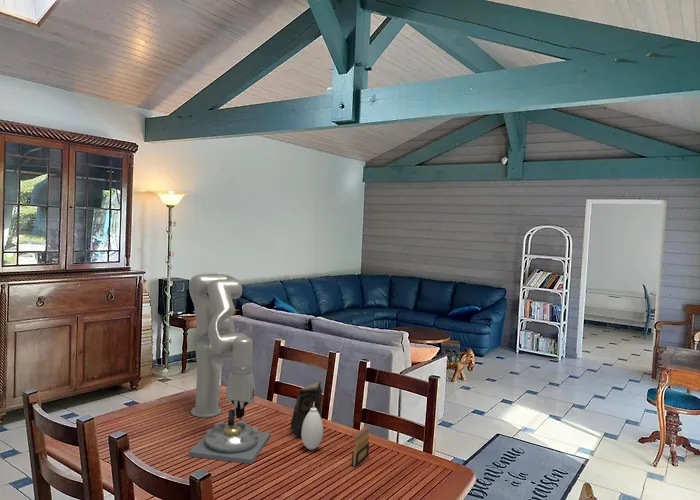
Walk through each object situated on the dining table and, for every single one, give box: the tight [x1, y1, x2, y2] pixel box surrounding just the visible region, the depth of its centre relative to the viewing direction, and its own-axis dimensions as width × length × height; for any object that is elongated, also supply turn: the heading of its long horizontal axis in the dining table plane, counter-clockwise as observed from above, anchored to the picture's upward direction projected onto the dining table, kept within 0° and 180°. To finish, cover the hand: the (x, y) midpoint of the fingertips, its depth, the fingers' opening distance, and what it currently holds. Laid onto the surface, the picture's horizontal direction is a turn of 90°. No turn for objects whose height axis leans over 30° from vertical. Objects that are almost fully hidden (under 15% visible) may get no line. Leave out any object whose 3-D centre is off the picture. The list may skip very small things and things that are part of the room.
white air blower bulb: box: [301, 403, 324, 451], centre depth 188 cm, size 8×8×18 cm
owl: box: [290, 381, 323, 440], centre depth 201 cm, size 13×13×20 cm
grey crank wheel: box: [205, 408, 259, 453], centre depth 186 cm, size 19×19×9 cm
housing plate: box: [187, 431, 272, 465], centre depth 186 cm, size 23×23×2 cm
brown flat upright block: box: [351, 424, 370, 468], centre depth 180 cm, size 11×2×12 cm, turn 154°
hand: (239, 417), depth 192 cm, fingers closed
